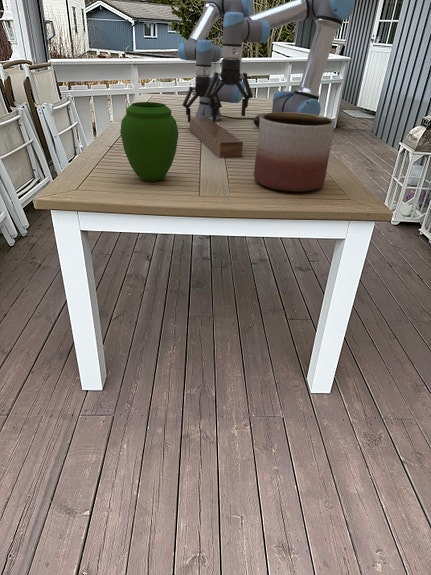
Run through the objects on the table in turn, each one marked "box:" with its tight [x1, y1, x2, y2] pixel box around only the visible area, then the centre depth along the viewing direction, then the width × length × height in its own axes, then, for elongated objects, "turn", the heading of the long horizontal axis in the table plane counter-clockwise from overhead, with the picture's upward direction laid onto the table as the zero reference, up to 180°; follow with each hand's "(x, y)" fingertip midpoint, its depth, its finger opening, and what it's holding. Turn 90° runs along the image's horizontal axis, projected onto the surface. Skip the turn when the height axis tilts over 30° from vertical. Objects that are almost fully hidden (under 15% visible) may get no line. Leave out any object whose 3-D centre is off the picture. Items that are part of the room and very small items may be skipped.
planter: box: [253, 111, 336, 193], centre depth 143 cm, size 25×25×22 cm
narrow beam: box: [189, 116, 244, 159], centre depth 197 cm, size 57×10×6 cm, turn 16°
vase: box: [119, 101, 179, 182], centre depth 140 cm, size 20×20×24 cm
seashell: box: [252, 112, 266, 128], centre depth 231 cm, size 10×6×8 cm, turn 97°
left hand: (201, 122), depth 213 cm, fingers open, 13 cm apart
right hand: (228, 116), depth 174 cm, fingers open, 13 cm apart
